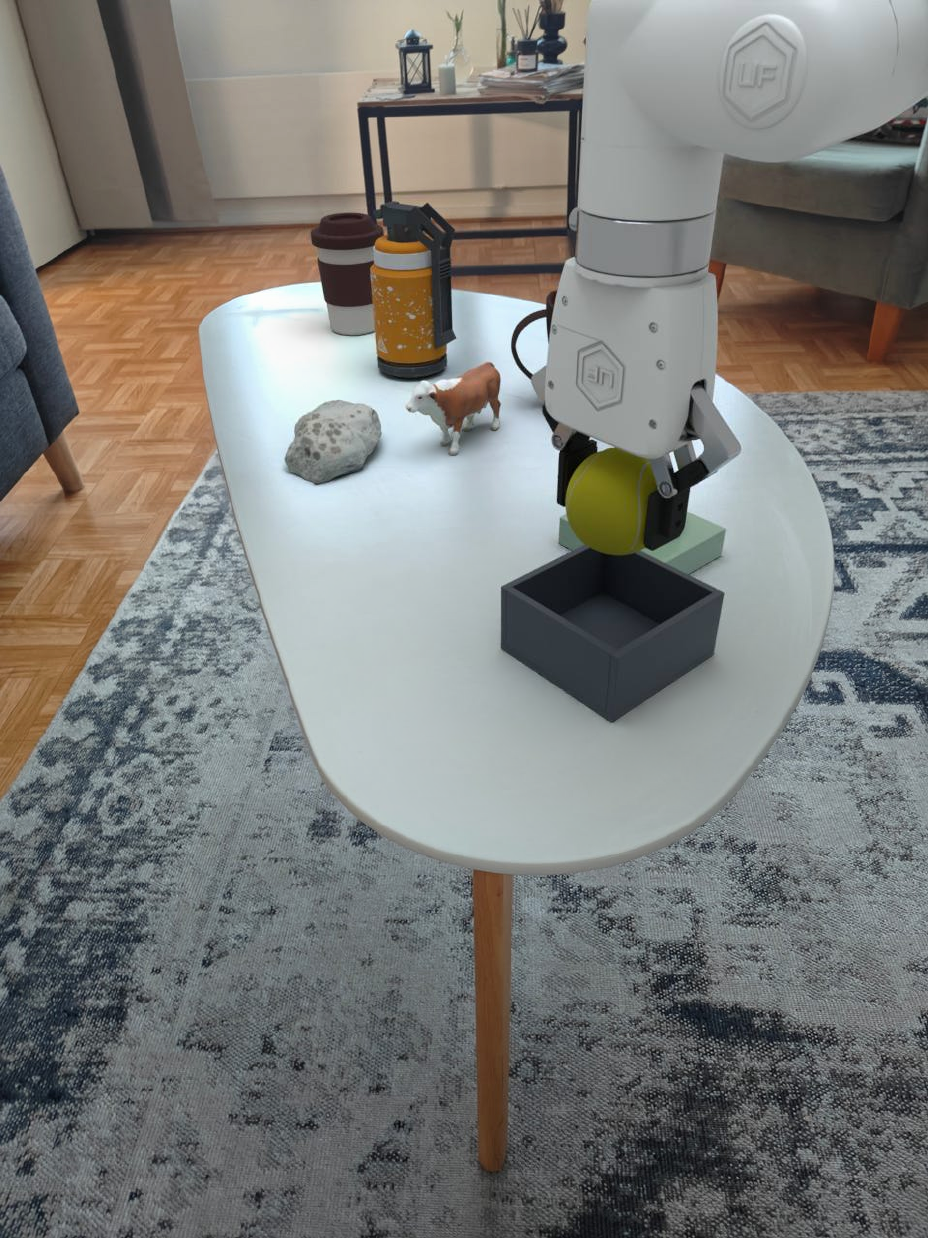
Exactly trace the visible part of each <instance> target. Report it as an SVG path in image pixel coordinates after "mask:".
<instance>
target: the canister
mask: <svg viewBox="0 0 928 1238" xmlns="http://www.w3.org/2000/svg"><path fill="white" fill-rule="evenodd" d="M372 213H373V216H374V218H375V219H376V220H382V227H387V228H390V229H389V231H388V234H384V236H382V237H380V238H378V239H377V240H376V242H375V246H374V247H373V252H374V264H373V265H372V267H371V268H370V274H371V287H372V300H373V312H374V325H375V331H374V334H375V335H374V336H375V349H376V355H377V356H376V362H377V368H378V369H379V371H381V372H383V373H385V374H387V375H391V376H394V377H397V378H402V379H403V378H404V379H418V378H424V377H428V376H431V375H433V374H435V373H438V372H440V371H442V370H443V369H445V368H446V367H447V366H448V353H447V350H448V345H449V343H451V342H453V341H455V340H456V339H457V335H456V334H455V331H454V330H453V325H454V324H453V297H452V296H453V295H452V291H453V290H452V275H453V273H452V258H451V247H452V245H453V239H454V236H455V232H456V228H454V227H453V225H452V224H450V223H449V222H448V221H447V220H446V219H445V218H444V217H443V216H442V215H441V214H440V213H439V212H438V211H437V210H436V209H435V208H434V207H433V206H432V205H431V204H429V202H426V203H425V204H423V205H422V206H420V205H413V204H407V203H406V204H405V203H400V201H394V200H393V201H390V202H386V203H381V204H380V206H379V208H378V209H375V210H373V212H372ZM432 220H433V221H434V222H435V223H436V224H437V225H438V226H439V227H440V228H439V227H438V226H437V225H436V224H435V223H434V222H433V221H432ZM442 230H443V231H444V232H445V233H444V232H443V231H442Z"/></svg>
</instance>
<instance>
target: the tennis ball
mask: <svg viewBox="0 0 928 1238" xmlns="http://www.w3.org/2000/svg"><path fill="white" fill-rule="evenodd" d="M656 490H658V488H657V485H656V482H655V478H654V475H653V471H652V468H651V464H650V461H649V459H646V458H641V457H638V456H636V455H633V454H630V453H628V452H625V451H623V450H621V449H618V448H616V447H607V448H605V449H604V450H599V451H597V452H596V453H594V454H592V455H591V456H589V457H588V458H586V459H585V460H584V461H583V462H582V463H581V464H580V465H579V467H578V468H577V469H576V471H575V472H574V474H573V476H572V478H571V480H570V482H569V485H568V488H567V493H566V507H565V514H566V515H567V519H568V522H569V525H570V527H571V529H572V530H573V532H574V533H575V535H576V536H577V537H578V539H579V540H580V541H581V542H582V543H584V544H585V545H587V546H588V547H590V548H592V549H594V550H596V551H599V552H602V553H605V554H611V555H628V554H632V553H635V552H638V551H640V550H642V549H644V548H645V546H644V544H643V540H644V531H645V522H646V514H647V505H648V497H649V495H650V494H651V493H652V492H654V491H656Z"/></svg>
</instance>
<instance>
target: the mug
mask: <svg viewBox="0 0 928 1238" xmlns="http://www.w3.org/2000/svg"><path fill="white" fill-rule="evenodd" d="M556 295H557V290H553V291H552V290H551V291H550V292H549V293H548V295H547V296H546V299H545V308H543V309H539V310H536V311H534V312H531V313H529V314H528V315H526V316H524V318H522V319H521V320H520V321H519V322H518V323H517V324H516V326H515V328H514V330H513V332H512V336H511V341H510V350H511V354H512V358H513V360H514V362H515V364H516V366H517V367H518V369H519V370H520V371H521V373H523V374H524V376H525V377H527V378H528V379H529V380H530V381H531V377H532V376H533V375H534V373H532V372H530V371H529V370H528V369H527V367H526V366H525V365H524V364H523V362H522V361H521V359H520V357H519V354H518V351H517V342H518V339H519V337H520V334H521V333H522V331H524V329H525V328H527V327H528V326H529V325H530V324H531V323H533V322H536V321H538V320H540V319H541V320H542V319H544V318H545V322H546V334H547V335H546V337H547V344H548V345H549V337H550V329H551V322H552V315H553V310H554V304H555V299H556Z"/></svg>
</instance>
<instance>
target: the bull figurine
mask: <svg viewBox="0 0 928 1238" xmlns="http://www.w3.org/2000/svg"><path fill="white" fill-rule="evenodd" d="M501 380H502V379H501V374H500V372H499V370H498V369H497V368H496V367H495V365H494V364H493V363H492V362H490V361H486V362H484V363H482V364H481V365H478V366H476V367H474V368H470V369H468V370H466V371H465V372H464V373H462V374H461V375H459V376H456V377H454V378H453V377H452V378H448V379H440V380H437V381H436V382H435V383H433V384H431V383H430V382H429V381H428V380H421V381H420V382H419V383H418V384H417V385H416V386H414V388H413V390H412V393H411V396H410V398H409V401H408V402H406V404H405V409H406V410H407V412H409V413H417V412H418V413H420V414H421V415H424V416H429V417H430V419H431V420H432V422H433V423H435V425H436V426H439V428H440V431H441V432H442V433H443V434H442V438H441V440H440V442H439V445H440V446H448V445H449V443H450V441H451V440H452V442H451V445H450V449H449V450H448V454H449V455H451V456H457V455H458V454H459V451H460V449H461V447H460V445H459V439H460V437H461V435H462V434H461V433H462V431H464V432H467V431H471V429H472V426H474V424H475V423H474V422H475V421H474V418H475V415H476V414H477V415H480V414H481V412H482V410H483V409H486V408H487V406H488V404H489V406H490V408H491V410H492V413H493V414H492V415H493V418H492V422H491V424H490V430H493V431H497V430H499V428H500V423H501V420H500V411H501V410H500V409H501V406H502V403H501V402H500V400H499V394H500V390H501V383H502V381H501ZM465 418H466V421H465V422H464V420H465ZM463 423H464V424H463ZM451 428H453V429H452V432H451V435H450V432H449V429H451ZM451 436H452V437H451Z"/></svg>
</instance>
